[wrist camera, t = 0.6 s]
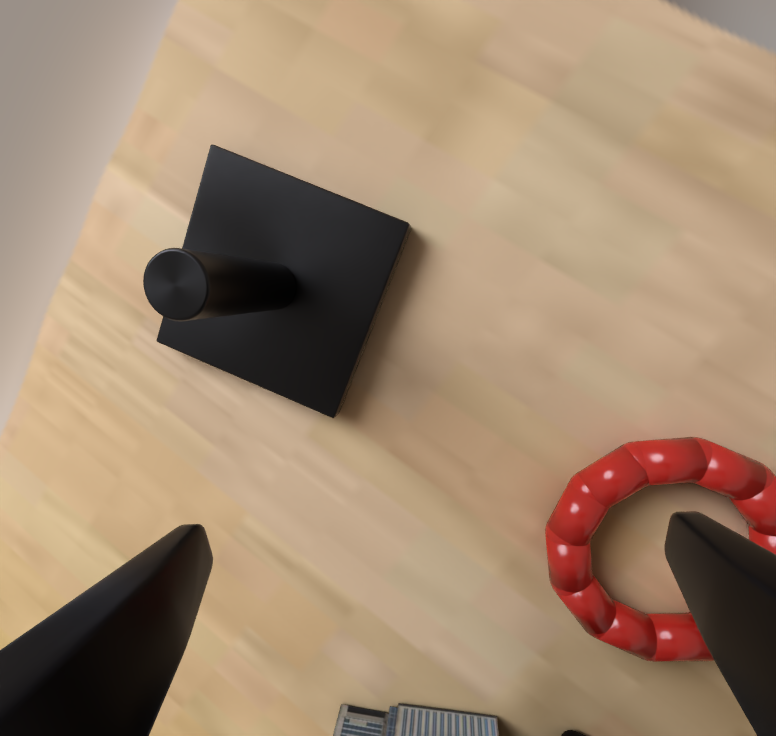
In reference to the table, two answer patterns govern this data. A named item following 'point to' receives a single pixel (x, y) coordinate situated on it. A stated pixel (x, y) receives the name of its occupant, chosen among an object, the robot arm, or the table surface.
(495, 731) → the building
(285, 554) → the table surface
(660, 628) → the ring
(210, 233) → the peg
